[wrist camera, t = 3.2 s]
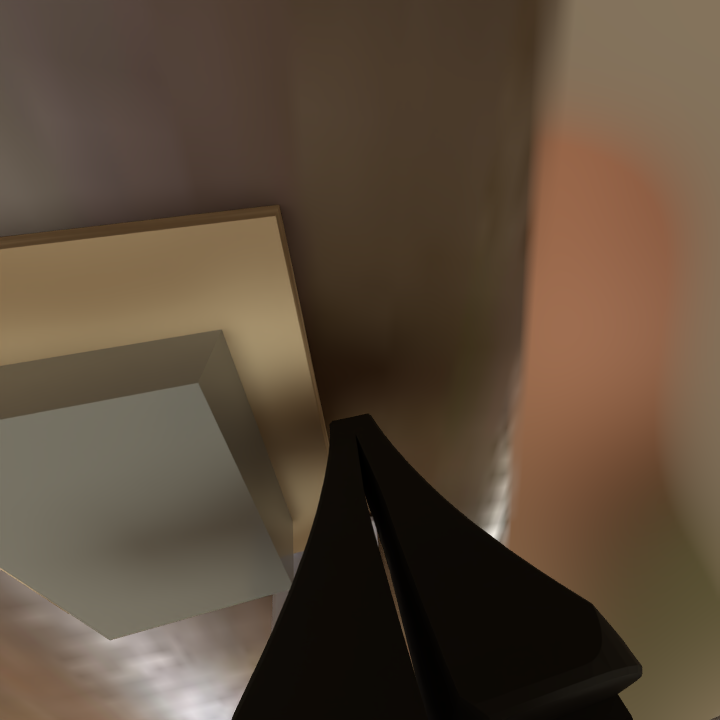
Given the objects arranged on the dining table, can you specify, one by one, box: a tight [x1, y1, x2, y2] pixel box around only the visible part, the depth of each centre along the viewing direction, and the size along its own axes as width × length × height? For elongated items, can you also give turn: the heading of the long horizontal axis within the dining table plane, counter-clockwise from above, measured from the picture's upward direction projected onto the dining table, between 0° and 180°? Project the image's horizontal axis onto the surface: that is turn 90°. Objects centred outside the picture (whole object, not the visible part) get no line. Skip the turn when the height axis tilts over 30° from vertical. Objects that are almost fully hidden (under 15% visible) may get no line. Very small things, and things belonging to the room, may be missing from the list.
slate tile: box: [0, 329, 294, 640], centre depth 9 cm, size 9×6×2 cm, turn 5°
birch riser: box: [0, 205, 329, 614], centre depth 11 cm, size 14×12×4 cm
